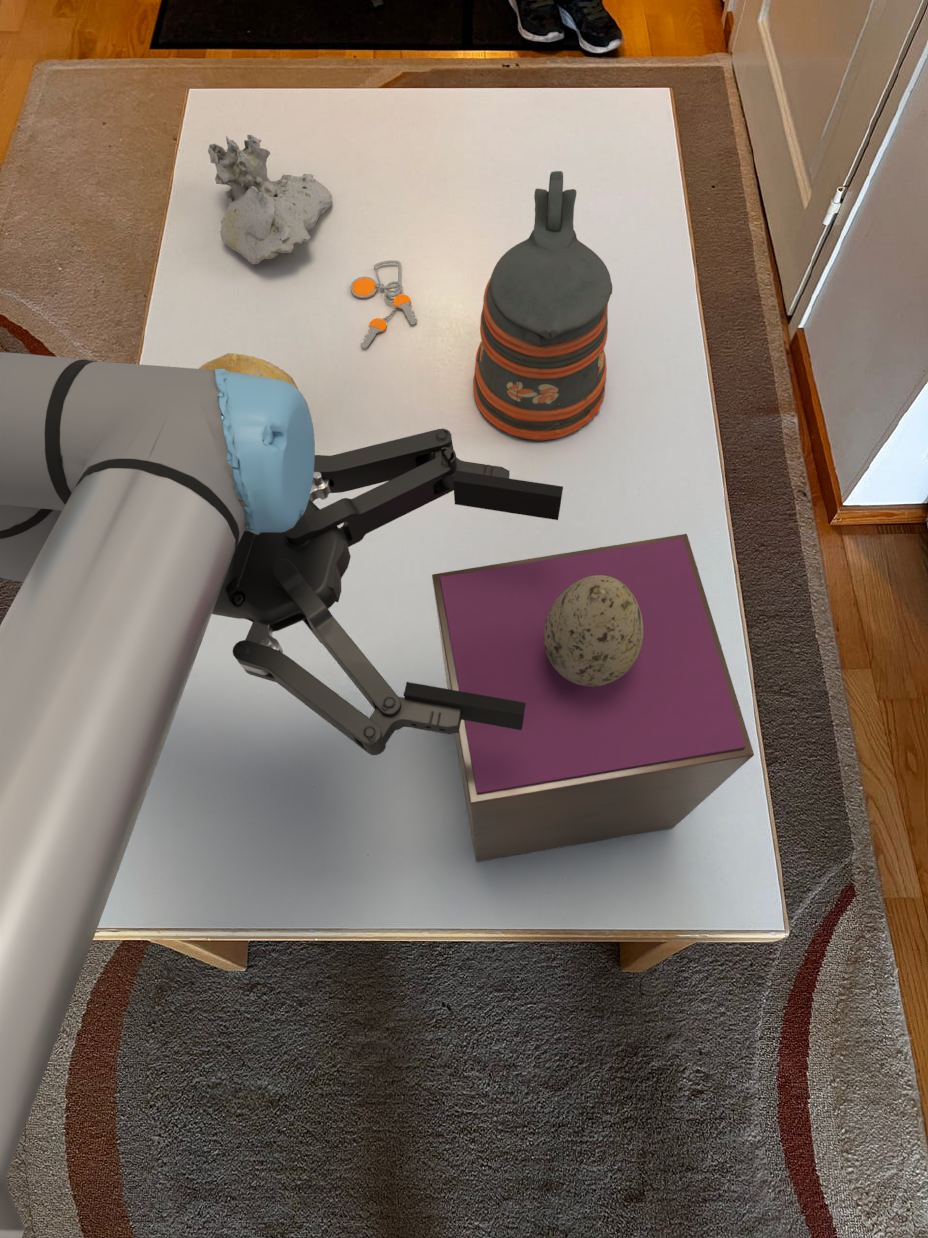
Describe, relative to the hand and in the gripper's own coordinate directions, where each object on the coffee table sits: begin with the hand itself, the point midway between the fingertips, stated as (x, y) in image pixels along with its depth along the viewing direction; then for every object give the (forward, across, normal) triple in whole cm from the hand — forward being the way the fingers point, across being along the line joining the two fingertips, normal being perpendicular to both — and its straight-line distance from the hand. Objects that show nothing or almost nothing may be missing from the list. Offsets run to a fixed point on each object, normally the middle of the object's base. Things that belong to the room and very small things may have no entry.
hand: (544, 604), depth 50 cm
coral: (-42, -60, -34) cm, 81 cm away
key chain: (-25, -50, -34) cm, 66 cm away
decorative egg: (+3, 0, -8) cm, 8 cm away
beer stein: (-6, -44, -34) cm, 56 cm away
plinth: (+3, 0, -34) cm, 34 cm away
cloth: (+3, 0, -8) cm, 9 cm away
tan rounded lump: (-36, -30, -34) cm, 58 cm away
